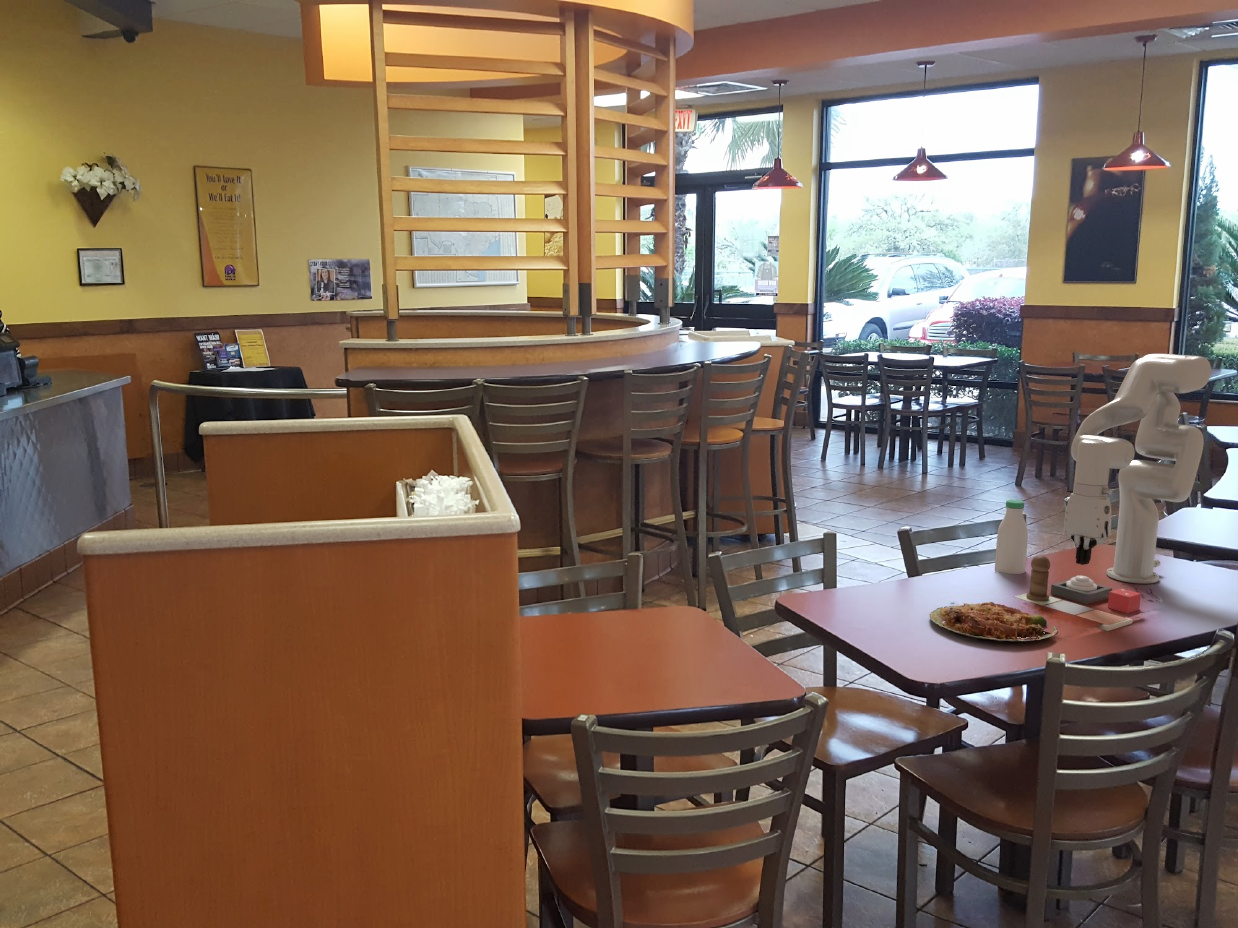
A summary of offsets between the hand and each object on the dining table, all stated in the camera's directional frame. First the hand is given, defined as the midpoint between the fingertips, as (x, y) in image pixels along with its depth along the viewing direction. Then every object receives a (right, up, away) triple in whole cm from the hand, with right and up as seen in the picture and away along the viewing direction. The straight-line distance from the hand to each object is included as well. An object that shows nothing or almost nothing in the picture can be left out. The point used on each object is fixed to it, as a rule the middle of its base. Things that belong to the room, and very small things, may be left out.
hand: (1082, 563), depth 261 cm
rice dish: (-29, -13, -18) cm, 37 cm away
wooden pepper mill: (-11, -9, 0) cm, 14 cm away
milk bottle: (-9, -5, +24) cm, 27 cm away
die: (+6, -11, -7) cm, 15 cm away
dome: (0, -6, +2) cm, 7 cm away
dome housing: (0, -9, +2) cm, 10 cm away
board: (-7, -11, -7) cm, 15 cm away
